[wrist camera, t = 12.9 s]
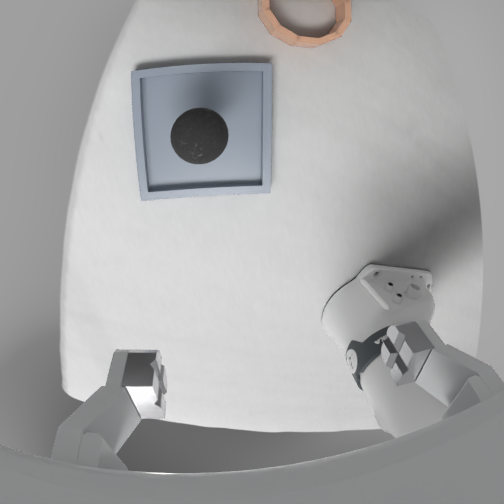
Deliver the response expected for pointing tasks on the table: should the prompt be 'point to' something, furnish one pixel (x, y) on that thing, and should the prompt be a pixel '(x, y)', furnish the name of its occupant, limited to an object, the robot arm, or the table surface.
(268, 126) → the tray
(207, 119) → the light bulb
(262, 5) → the ring
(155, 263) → the table surface
